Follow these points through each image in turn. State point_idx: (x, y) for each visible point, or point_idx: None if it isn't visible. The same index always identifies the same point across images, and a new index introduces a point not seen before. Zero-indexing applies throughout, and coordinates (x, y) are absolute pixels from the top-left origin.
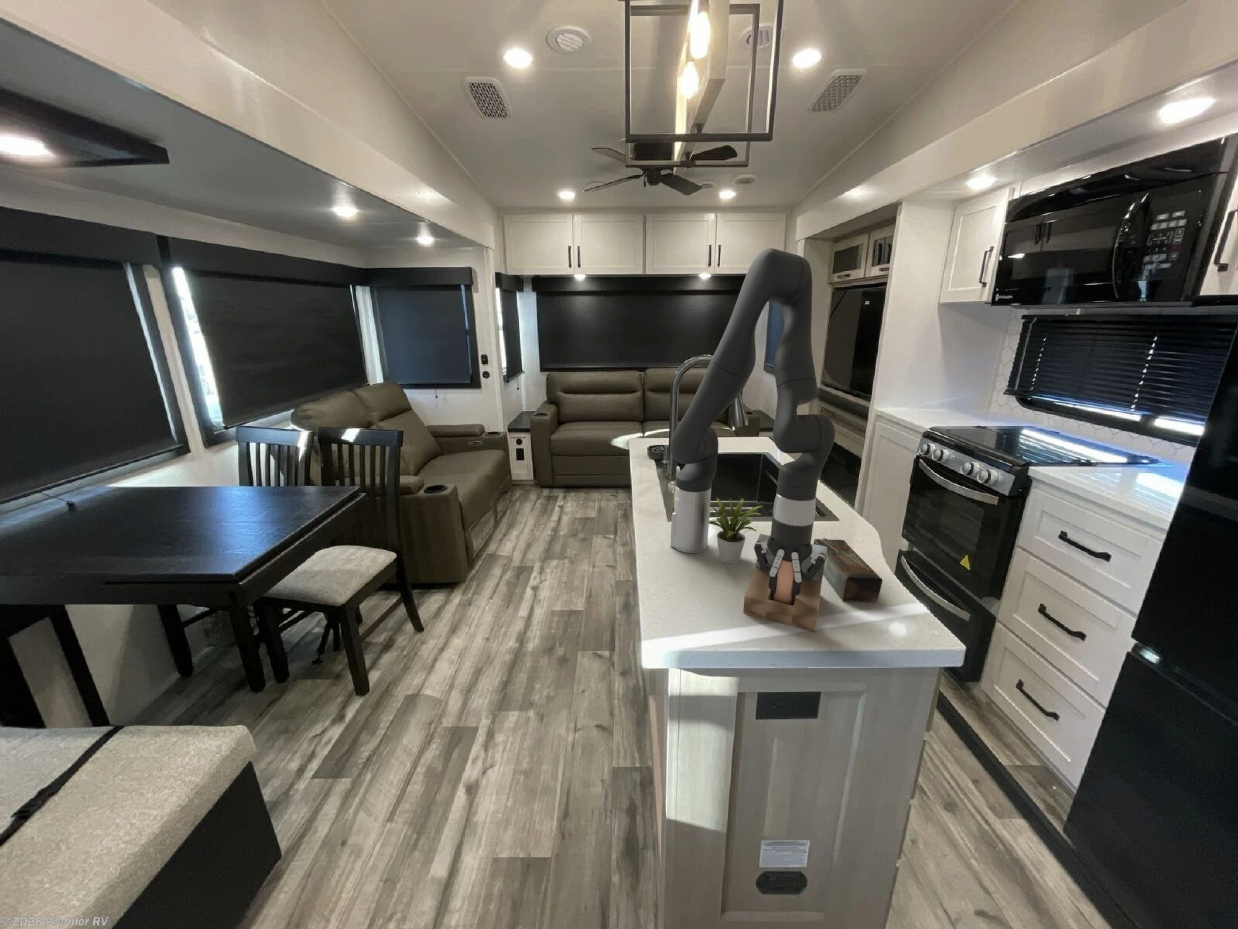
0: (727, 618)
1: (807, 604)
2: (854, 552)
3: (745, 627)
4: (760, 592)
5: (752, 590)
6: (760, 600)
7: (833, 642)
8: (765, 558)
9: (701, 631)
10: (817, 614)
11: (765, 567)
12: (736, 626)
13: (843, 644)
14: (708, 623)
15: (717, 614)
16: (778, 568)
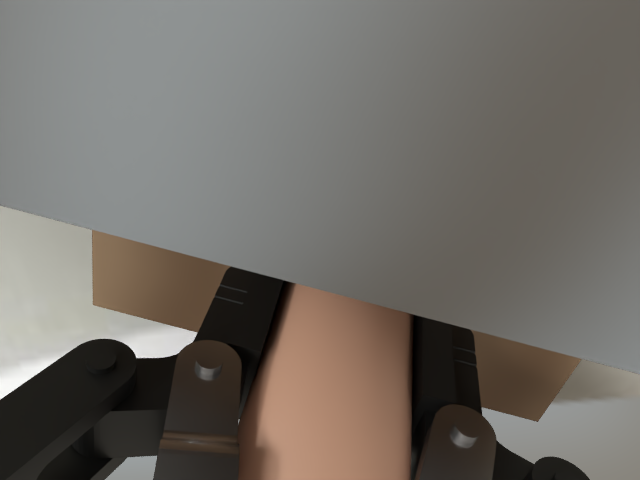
0: (79, 282)
1: (507, 341)
2: None
3: (173, 329)
4: (187, 256)
5: (129, 240)
6: (195, 331)
7: (587, 382)
8: (52, 451)
9: (3, 366)
10: (537, 418)
11: (103, 470)
12: (132, 327)
13: (634, 389)
14: (10, 322)
15: (24, 259)
16: None
